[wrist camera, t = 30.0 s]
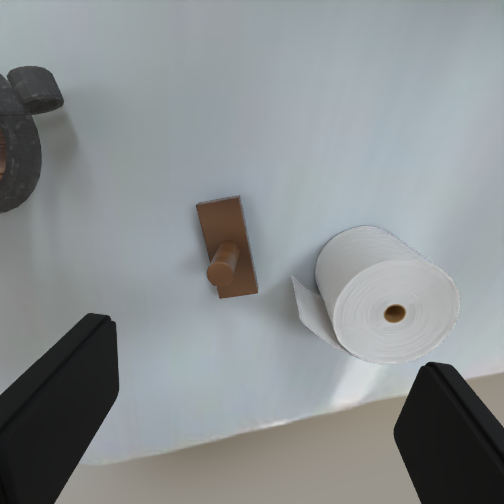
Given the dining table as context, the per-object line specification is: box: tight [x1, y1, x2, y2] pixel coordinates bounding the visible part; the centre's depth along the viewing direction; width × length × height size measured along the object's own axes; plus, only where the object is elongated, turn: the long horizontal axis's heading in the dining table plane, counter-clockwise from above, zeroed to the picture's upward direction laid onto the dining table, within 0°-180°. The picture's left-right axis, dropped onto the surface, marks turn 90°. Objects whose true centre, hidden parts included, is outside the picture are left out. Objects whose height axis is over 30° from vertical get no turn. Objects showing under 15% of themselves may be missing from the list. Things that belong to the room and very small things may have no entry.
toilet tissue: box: [291, 226, 460, 364], centre depth 30 cm, size 11×12×10 cm
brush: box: [196, 195, 258, 299], centre depth 29 cm, size 11×4×9 cm, turn 11°
